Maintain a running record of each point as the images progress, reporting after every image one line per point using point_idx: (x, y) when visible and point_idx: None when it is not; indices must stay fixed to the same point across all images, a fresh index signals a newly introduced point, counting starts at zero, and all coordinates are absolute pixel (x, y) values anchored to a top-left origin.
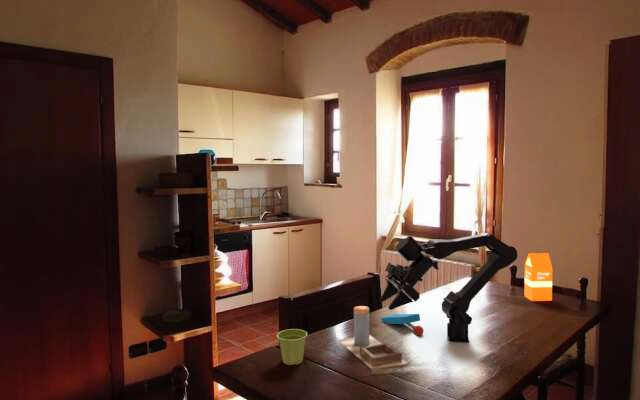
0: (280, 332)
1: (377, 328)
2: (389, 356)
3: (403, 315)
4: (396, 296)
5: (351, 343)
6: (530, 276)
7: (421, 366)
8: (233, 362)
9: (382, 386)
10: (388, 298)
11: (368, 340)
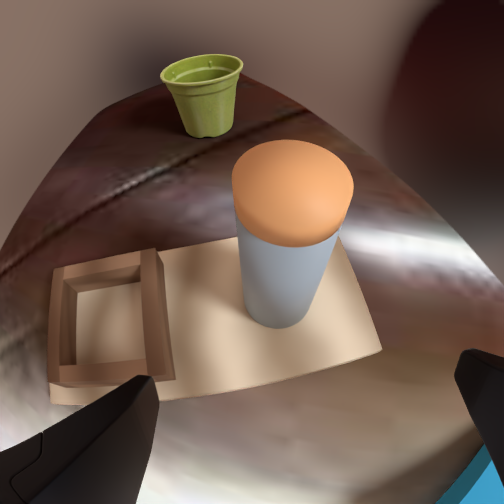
0: (227, 56)
1: None
2: (49, 330)
3: (493, 501)
4: (26, 476)
5: None
6: None
7: None
8: None
9: (7, 280)
10: (482, 438)
11: (254, 312)
